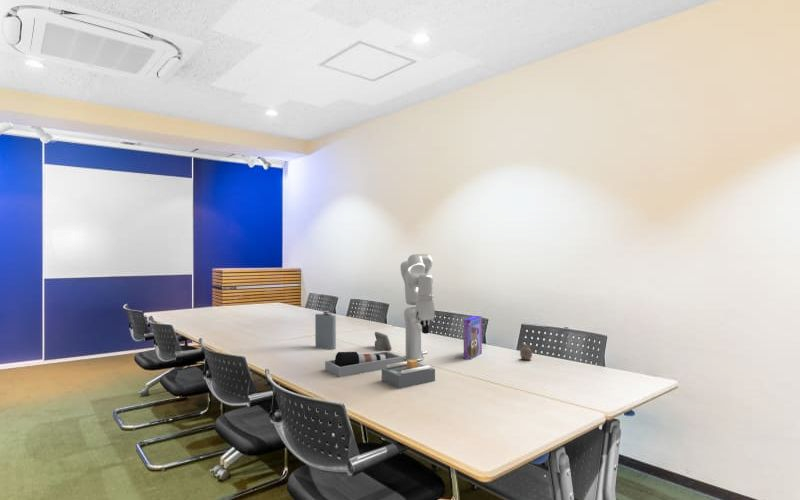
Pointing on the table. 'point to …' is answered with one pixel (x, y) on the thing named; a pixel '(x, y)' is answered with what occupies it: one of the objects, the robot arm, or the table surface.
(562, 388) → the table surface
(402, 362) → the cord
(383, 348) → the grey rock
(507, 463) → the table surface
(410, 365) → the block
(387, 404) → the table surface
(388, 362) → the grey tray
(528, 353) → the vase
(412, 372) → the cord
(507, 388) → the table surface
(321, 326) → the flask
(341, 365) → the cable
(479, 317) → the cereal box
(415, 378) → the grey slider switch panel
